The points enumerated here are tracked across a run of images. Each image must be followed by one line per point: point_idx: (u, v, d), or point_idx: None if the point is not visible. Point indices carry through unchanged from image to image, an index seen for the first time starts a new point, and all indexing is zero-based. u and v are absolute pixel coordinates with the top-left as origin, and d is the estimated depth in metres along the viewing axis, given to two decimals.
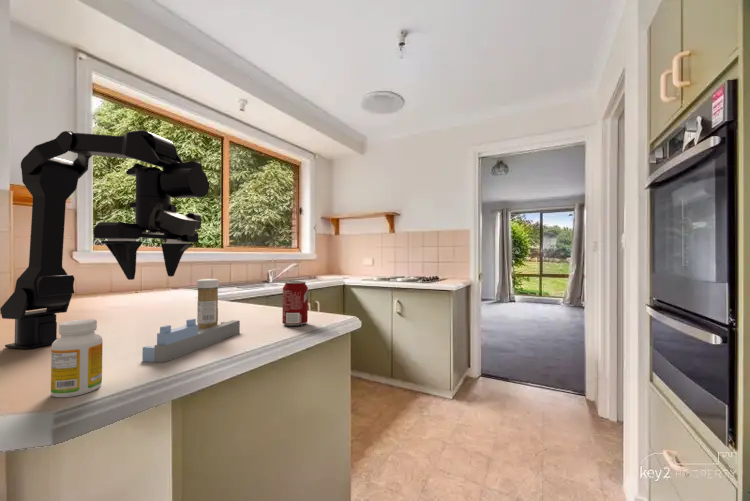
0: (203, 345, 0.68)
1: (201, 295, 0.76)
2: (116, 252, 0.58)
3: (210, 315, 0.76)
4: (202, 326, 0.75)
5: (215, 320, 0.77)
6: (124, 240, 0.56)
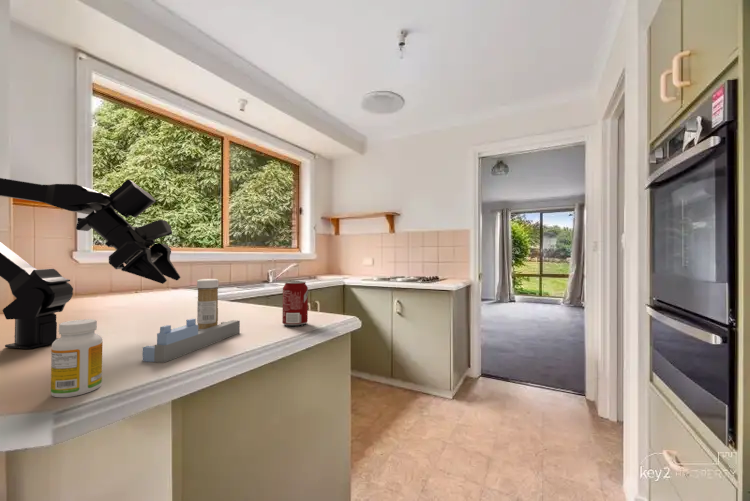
0: (203, 345, 0.68)
1: (201, 295, 0.76)
2: (138, 270, 0.69)
3: (210, 315, 0.76)
4: (202, 326, 0.75)
5: (215, 320, 0.77)
6: (140, 252, 0.67)
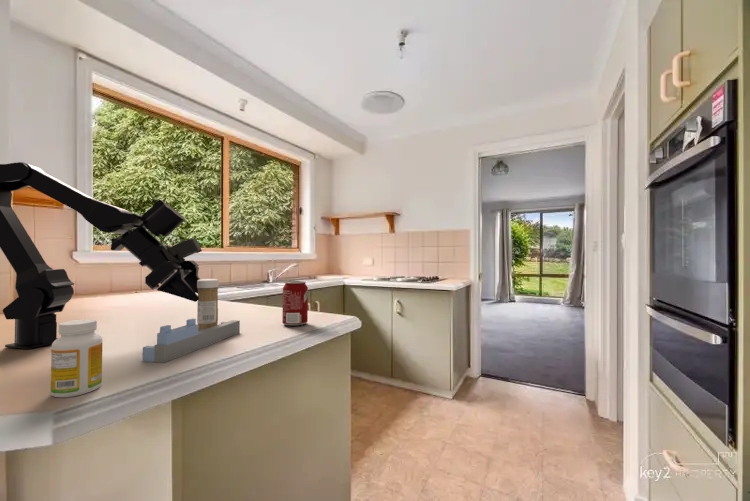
0: (203, 345, 0.68)
1: (200, 295, 0.76)
2: (172, 290, 0.70)
3: (210, 315, 0.76)
4: (202, 326, 0.75)
5: (215, 320, 0.77)
6: (175, 272, 0.69)
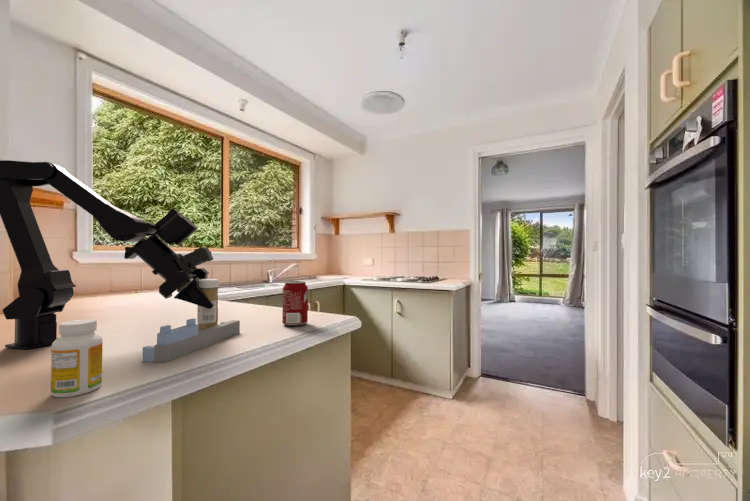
0: (203, 345, 0.68)
1: None
2: (188, 297, 0.73)
3: (210, 315, 0.76)
4: (202, 326, 0.75)
5: (216, 320, 0.77)
6: (191, 280, 0.72)
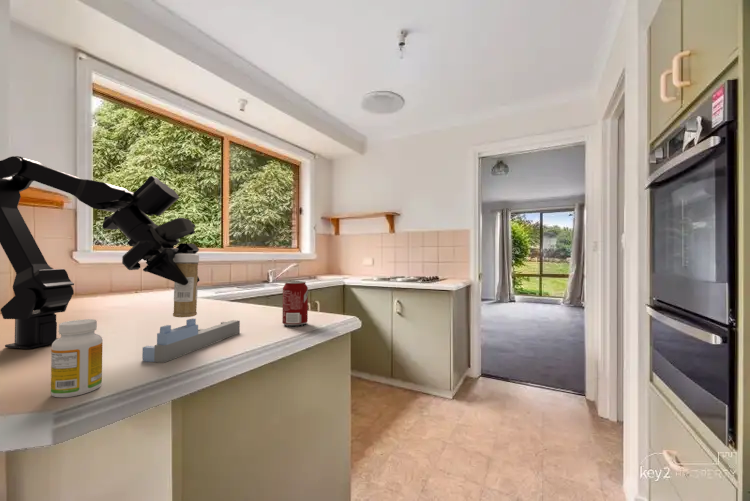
0: (203, 345, 0.68)
1: None
2: (160, 271, 0.67)
3: (185, 292, 0.69)
4: (176, 304, 0.68)
5: (193, 298, 0.70)
6: (161, 252, 0.65)
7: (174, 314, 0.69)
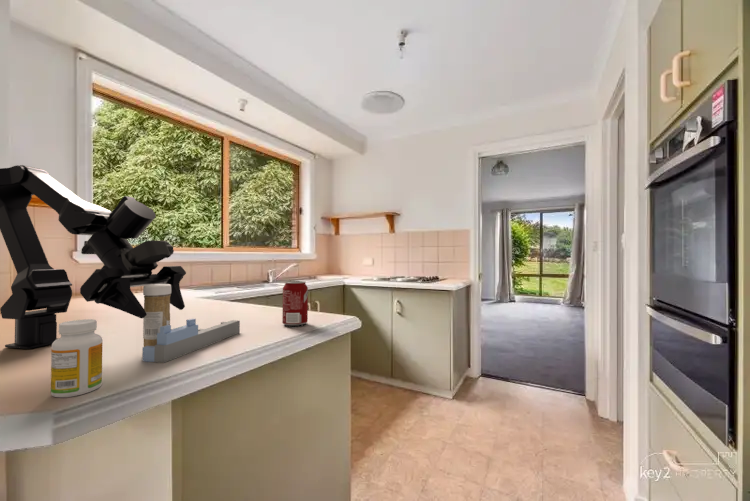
0: (203, 345, 0.68)
1: (144, 304, 0.62)
2: (115, 302, 0.58)
3: (152, 329, 0.61)
4: (144, 342, 0.62)
5: None
6: (111, 282, 0.56)
7: None
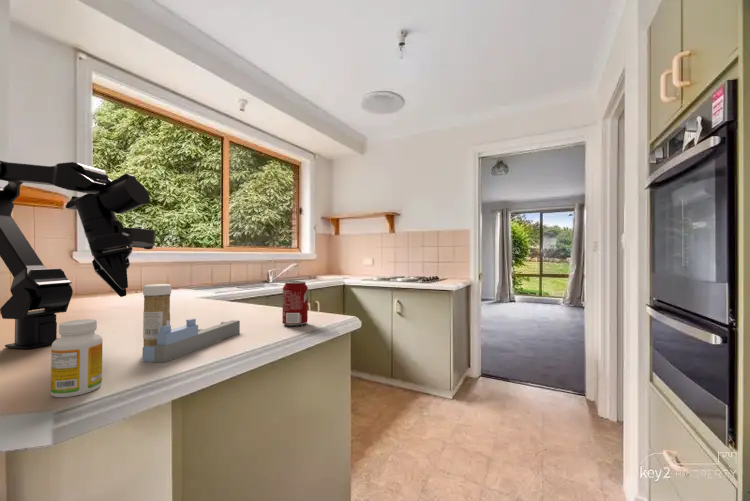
0: (203, 345, 0.68)
1: (144, 304, 0.62)
2: (108, 264, 0.62)
3: (153, 329, 0.61)
4: (144, 342, 0.62)
5: None
6: (126, 247, 0.63)
7: None
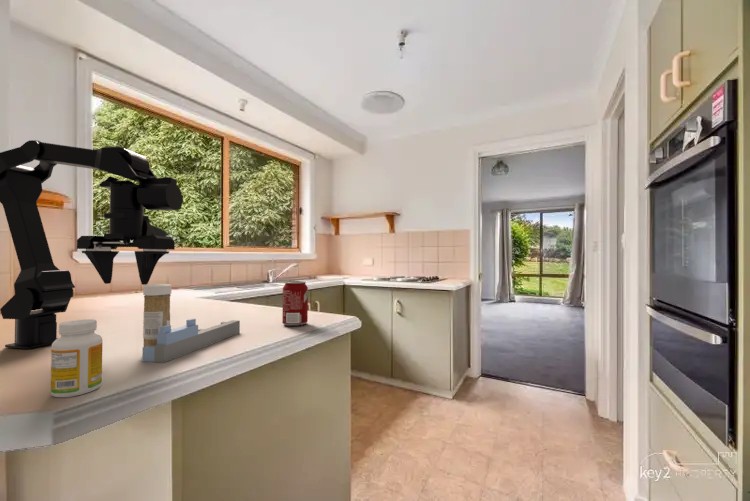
0: (203, 345, 0.68)
1: (144, 304, 0.62)
2: (146, 260, 0.66)
3: (153, 329, 0.61)
4: (144, 342, 0.62)
5: None
6: (167, 251, 0.69)
7: None
